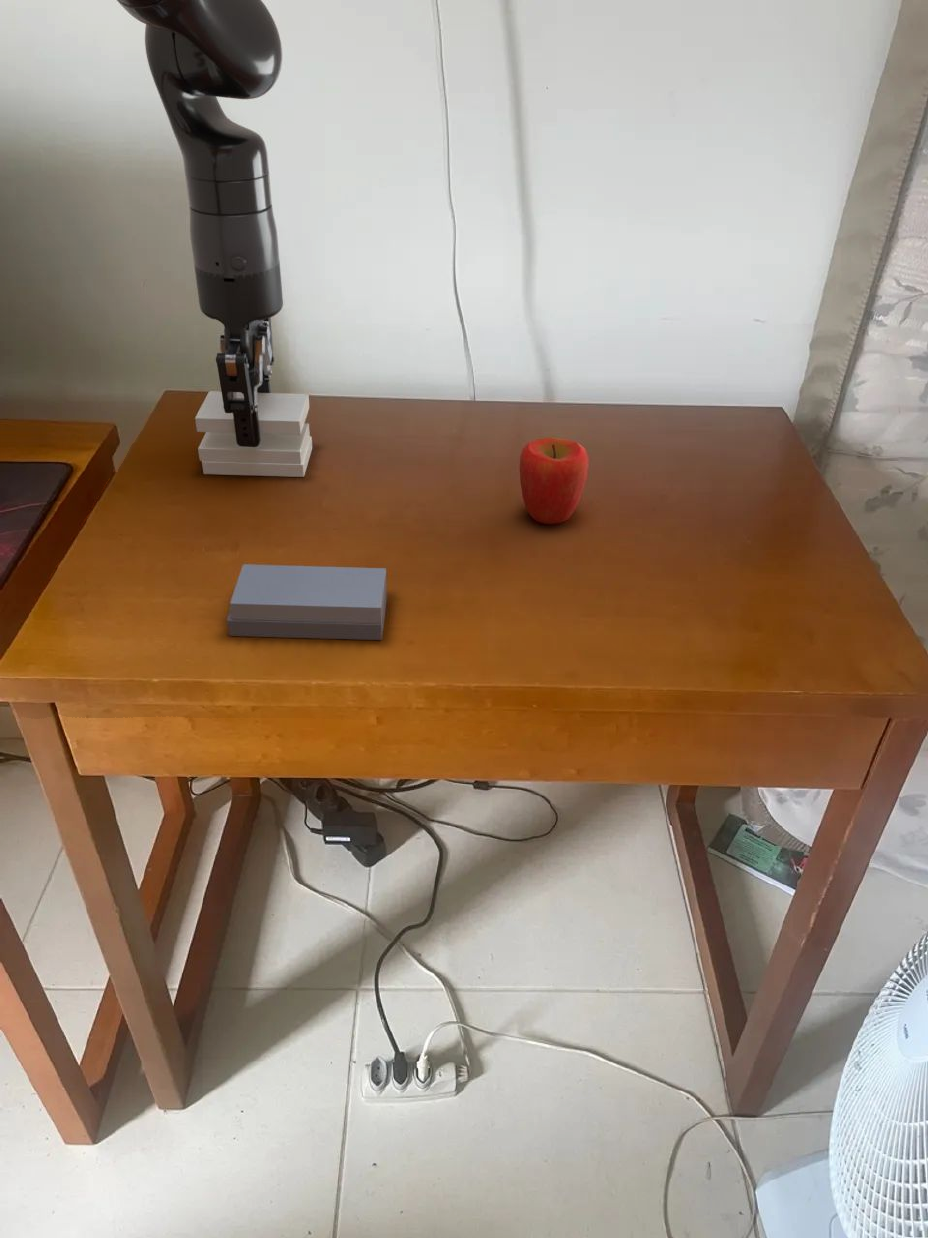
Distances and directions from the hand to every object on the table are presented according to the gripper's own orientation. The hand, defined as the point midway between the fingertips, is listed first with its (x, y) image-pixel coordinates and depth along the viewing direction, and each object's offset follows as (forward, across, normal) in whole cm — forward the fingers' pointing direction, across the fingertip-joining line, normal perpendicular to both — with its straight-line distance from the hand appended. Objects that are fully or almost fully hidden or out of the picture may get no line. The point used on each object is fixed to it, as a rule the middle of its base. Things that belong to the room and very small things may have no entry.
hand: (255, 428), depth 98 cm
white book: (-1, 0, 0) cm, 1 cm away
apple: (+4, +9, +29) cm, 31 cm away
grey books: (+4, +26, +9) cm, 28 cm away
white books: (+4, 0, 0) cm, 4 cm away
